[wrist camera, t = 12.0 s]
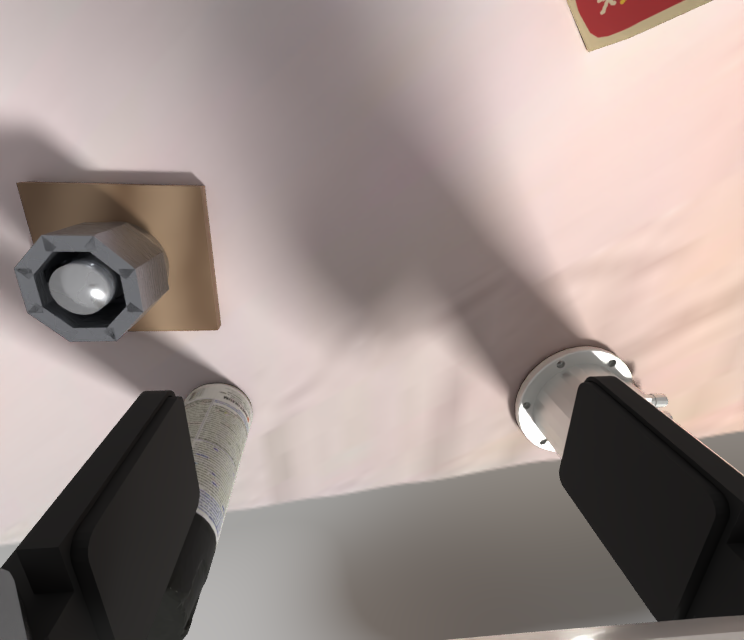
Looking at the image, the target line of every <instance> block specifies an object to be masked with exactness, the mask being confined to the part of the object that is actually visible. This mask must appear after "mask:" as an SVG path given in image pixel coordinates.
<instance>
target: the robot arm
mask: <svg viewBox="0 0 744 640" xmlns="http://www.w3.org/2000/svg"><path fill="white" fill-rule="evenodd" d="M667 404H668V399H667V397H666V396H665V395H664V394H649V395H646V394H645V393H644V392H642V391H641V390H640V389H638V388H637V387H636V386H634V385H633V378H632V375H631V372H630V370H629V369H628V367H627V365H626V364H625V363H624V362H623V361H622V360H621V359H620V358H618V357H617V356H615V355H614V354H613V353H611V352H609V351H607V350H604V349H602V348H597V347H592V346H580V347H574V348H569V349H566V350H563V351H561V352H558V353H556V354H554V355H552V356H550V357H549V358H547V359H545V360H544V361H543V362H541V363H540V364H539V365H537V366H536V367H535V368H534V369H533V370H532V372H531V373H530V374H529V375H528V376H527V378H526V379H525V380H524V382H523V383H522V385H521V387H520V390H519V392H518V394H517V398H516V402H515V415H516V420H517V423H518V425H519V427H520V429H521V431H522V432H523V433H524V435H525V436H526V438H527V439H529V440H530V441H531V442H532V443H533V444H535V445H536V446H538V447H540V448H543V449H546V450H550V451H555V452H556V453H557V454H558V456H559V457H560V458H561V465H560V470H559V476H560V480H561V483H562V485H563V487H564V488H565V490H566V491H567V493H568V494H569V496H570V497H571V498H572V500H573V501H574V503H575V504H576V506H577V507H578V509H579V510H580V511H581V513H582V514H583V516H584V517H585V519H586V520H587V521H588V523H589V524H590V526H591V527H592V529H593V530H594V532H595V533H596V534H597V536H598V537H599V539H600V540H601V542H602V543H603V544H604V546H605V547H606V549H607V550H608V551H609V553H610V554H611V556H612V557H613V559H614V560H615V562H616V563H617V565H618V566H619V567H620V569H621V570H622V571H623V573H624V574H625V576H626V577H627V579H628V580H629V582H630V583H631V584H632V586H633V587H634V589H635V590H636V592H637V593H638V595H639V596H640V598H641V599H642V600H643V602H644V603H645V605H646V606H647V608H648V609H649V610H650V612H651V613H652V615H653V616H654V617H655V618H656V620H657V621H658V622H649V623H638V624H637V623H636V624H625V625H613V626H600V627H588V628H576V629H564V630H553V631H542V632H531V633H530V632H529V633H518V634H507V635H495V636H484V637H473V638H461V639H451V640H744V475H743V474H742V473H741V472H739V471H738V470H737V469H736V468H734V467H733V466H732V465H730V464H729V463H728V462H727V461H725V460H724V459H723V458H721V457H720V456H719V455H718V454H716V453H715V452H714V451H712V450H711V449H710V448H708V447H707V446H706V445H705V444H703V443H702V442H701V441H700V440H698V439H697V438H696V437H694V436H693V435H692V434H691V433H689V432H688V431H687V430H685V429H684V428H683V427H682V426H680V425H679V424H678V423H676V422H675V421H674V420H673V418H672V416H671V415H670V414H669V413H668V412H666V411H661V410H660V409H658V408H657V407H666V406H667ZM199 498H200V489H199V483H198V478H197V472H196V467H195V461H194V455H193V450H192V444H191V439H190V433H189V428H188V422H187V417H186V411H185V405H184V401H183V399H182V397H176V396H175V394H174V392H173V391H171V390H168V391H145V392H143V393H142V394H140V396H139V397H138V398H137V399H136V401H135V402H134V403H133V404H132V406H131V407H130V408H129V409H128V411H127V412H126V413H125V414H124V416H123V417H122V418H121V419H120V421H119V422H118V423H117V424H116V426H115V427H114V428H113V429H112V430H111V432H110V433H109V434H108V435H107V437H106V438H105V439H104V440H103V442H102V443H101V444H100V445H99V447H98V448H97V449H96V450H95V452H94V453H93V454H92V455H91V457H90V458H89V459H88V460H87V462H86V463H85V464H84V465H83V466H82V468H81V469H80V470H79V471H78V473H77V474H76V475H75V476H74V478H73V479H72V480H71V481H70V483H69V484H68V485H67V486H66V488H65V489H64V490H63V491H62V493H61V494H60V495H59V496H58V497H57V499H56V500H55V501H54V502H53V504H52V505H51V506H50V507H49V509H48V510H47V511H46V512H45V514H44V515H43V516H42V517H41V519H40V520H39V521H38V522H37V524H36V525H35V526H34V527H33V529H32V530H31V531H30V532H29V533H28V535H27V536H26V537H25V538H24V540H23V541H22V542H21V543H20V545H19V546H18V547H17V548H16V550H15V551H14V552H13V553H12V555H11V556H10V557H9V558H8V560H7V561H6V562H5V563H4V565H3V566H2V567H1V568H0V640H147V638H148V635H149V632H150V630H151V627H152V625H153V622H154V619H155V617H156V614H157V612H158V609H159V606H160V604H161V601H162V599H163V596H164V593H165V591H166V588H167V586H168V583H169V580H170V578H171V575H172V573H173V570H174V567H175V565H176V562H177V560H178V557H179V554H180V552H181V549H182V547H183V544H184V541H185V539H186V536H187V534H188V531H189V528H190V526H191V523H192V521H193V518H194V515H195V513H196V510H197V507H198V504H199Z"/></svg>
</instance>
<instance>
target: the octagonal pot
mask: <svg viewBox="0 0 744 640" xmlns="http://www.w3.org/2000/svg"><path fill="white" fill-rule="evenodd" d="M80 252H91V253H92V254H93V255H95V256H96V257H97V258H98V259H100V260H101V261H102V262H104V263H105V264H106V265H108V266H109V267H110V268H111V269H113V270H114V271H115V272H117V273H118V274H119V275H120V277H121V282H122V287H123V292H124V296H125V301H126V303H108V304H107V305H105V306H104V307H103V308H101V309H100V310H98V311H97V312H95V313H92V314H86V315H82V314H76V313H72V312H70V311H68V310H66V309H64V308H63V307H61V306H60V305H59V304H58V303H57V302H56V301H55V299H54V298H53V296H51V293H50V290H49V286H48V282H49V281H50V277H51V275H52V274H53V272H54V271H55V270H56V269H58V268H60V267H62V266H64V265H66V264H68V263H71V262H73V261H75V260H78V259H77V255H78V254H79V253H80ZM14 270H15V273H16V277H17V280H18V283H19V287H20V290H21V293H22V297H23V300H24V303H25V306H26V310H27V313H28V314H30V315H31V316H33V317H34V318H36V319H37V320H39V321H40V322H42V323H43V324H45V325H46V326H48V327H49V328H51V329H52V330H53V331H55V332H56V333H58V334H59V335H61V336H62V337H64V338H65V339H67V340H68V341H70V342H78V341H117V340H118V339H119V338H120V337H122V336H123V335H124V334H125V333H126V332H127V331H128V330H129V329H130V328H131V327H132V326H134V325H135V324H136V323H137V322H138V321H139V320H140V319H141V318H142V317H143V316H144V315H146V313H147V312H148V311H149V310H150V309H151V308H152V307H153V306H154V305H155V304H156V303H157V302H158V301H159V299H160V298H161V297H162V296H163V295H164V294H165V293H166V292H167V291H168V290H169V284H168V278H167V272H166V266H165V260H164V253H163V251H162V250H161V249H160V248H158V247H157V246H156V245H155V244H154V243H152V242H151V241H150V240H149V239H147V238H146V237H145V236H144V235H143V234H141V233H140V232H139V231H138V230H137V229H135V228H134V227H133V226H132V225H130V224H129V223H107V222H84V223H80V224H77V225H74V226H70V227H67V228H64V229H60V230H57V231H54V232H50V233H47V234H44V235H41V236H40V238H39V239H38V240H37V241H36V242H35V244H34V245H33V246H32V247H31V249H30V250H29V251H28V252H27V253H26V255H25V256H24V257H23V258H22V259H21V261H20V262H19V263H18V264H17V266H16V267H15V268H14Z"/></svg>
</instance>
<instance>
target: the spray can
mask: <svg viewBox="0 0 744 640" xmlns="http://www.w3.org/2000/svg"><path fill="white" fill-rule="evenodd" d="M184 405H185V411H186V417H187V422H188V428H189V433H190V439H191V444H192V450H193V455H194V461H195V467H196V472H197V478H198V483H199V489H200V498H199V504H198V507H197V510H196V513H195V515H194V518H193V521H192V523H191V526H190V528H189V531H188V534H187V536H186V539H185V541H184V544H183V547H182V549H181V552H180V554H179V557H178V560H177V562H176V565H175V567H174V570H173V573H172V575H171V578H170V580H169V583H168V586H167V588H166V591H165V593H164V596H163V599H162V601H161V604H160V606H159V609H158V612H157V614H156V617H155V619H154V622H153V625H152V627H151V630H150V632H149V635H148V638H147V640H183V639H184V637H185V636H186V635H187V633H188V631H189V628H190V625H191V622H192V617H193V614H194V612H195V609H196V605H197V602H198V599H199V595H200V592H201V590H202V587H203V585H204V584H205V582H206V579H207V576H208V573H209V570H210V566H211V563H212V559H213V556H214V553H215V549H216V546H217V543H218V539H219V536H220V532H221V529H222V525H223V522H224V519H225V515H226V511H227V508H228V504H229V500H230V497H231V493H232V490H233V486H234V483H235V479H236V475H237V472H238V468H239V465H240V461H241V458H242V454H243V451H244V447H245V443H246V440H247V436H248V433H249V429H250V426H251V422H252V416H253V414H252V406H251V402H250V400H249V399H248V397H247V396H246V395H245V394H244V393H243V392H242V391H240V390H239V389H237V388H236V387H234V386H231V385H228V384H224V383H215V384H206V385H203V386H200V387H198V388H196V389H194V390H193V391H192V392H191V393H190V394H189V395H188V396H187V398H186V399H185V400H184Z"/></svg>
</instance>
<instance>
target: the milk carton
mask: <svg viewBox="0 0 744 640" xmlns="http://www.w3.org/2000/svg"><path fill="white" fill-rule="evenodd" d="M710 1H713V0H567V3H568V5H569V7H570V10H571V12H572V15H573V17H574V19H575V22H576V24H577V26H578V29H579V31H580V33H581V36H582V38H583V40H584V43H585V45H586V48H587V50H588V52H590V51H593V50H596V49H599V48H602V47H605V46H608V45H611V44H614V43H617V42H619V41H622V40H625V39H628V38H631V37H633V36H635V35H637V34H640V33H642V32H644V31H646V30H648V29H651V28H653V27H655V26H657V25H659V24H662V23H664V22H666V21H668V20H671V19H673V18H675V17H677V16H679V15H682V14H684V13H686V12H688V11H690V10H693V9H695V8H697V7H699V6H702V5H704V4H706V3H708V2H710Z"/></svg>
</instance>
